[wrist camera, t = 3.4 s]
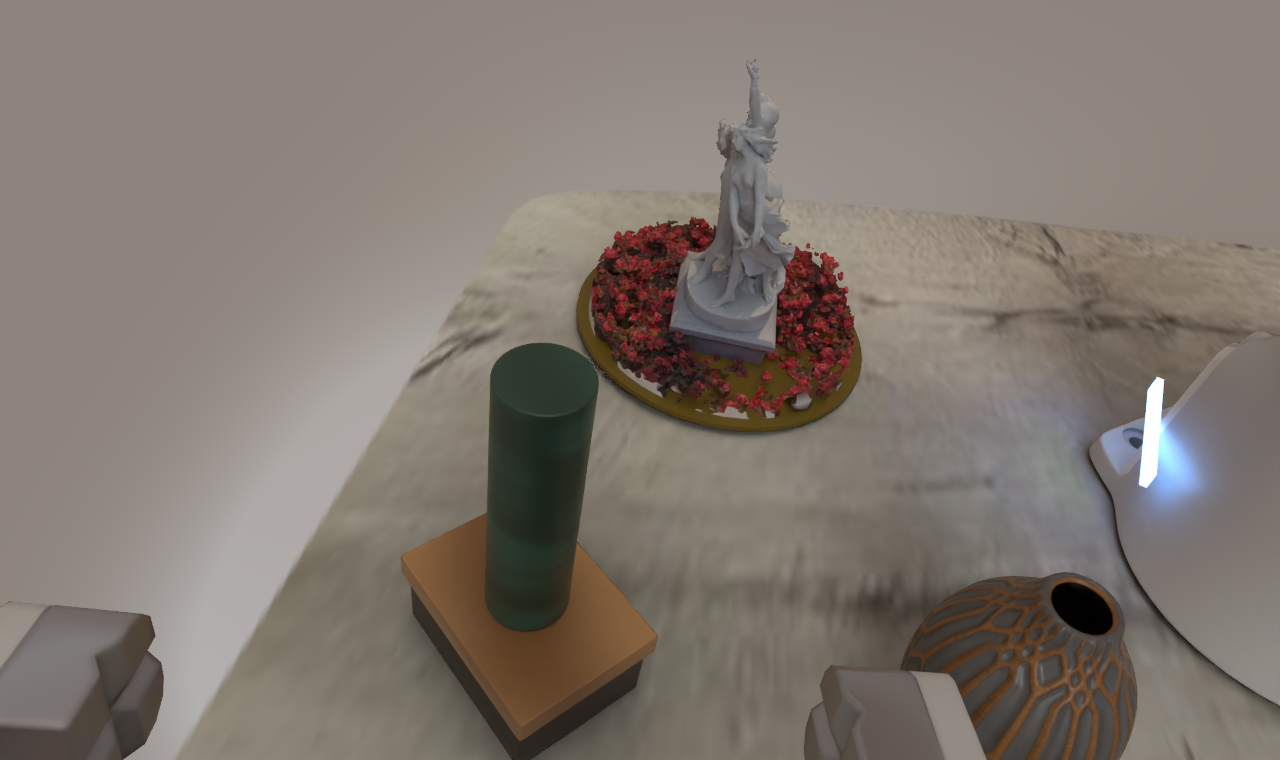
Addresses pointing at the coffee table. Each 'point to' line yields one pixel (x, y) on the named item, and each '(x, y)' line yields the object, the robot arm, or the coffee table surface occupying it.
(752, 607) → the coffee table surface
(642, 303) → the figurine
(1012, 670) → the vase
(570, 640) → the green pillar on base
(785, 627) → the coffee table surface
